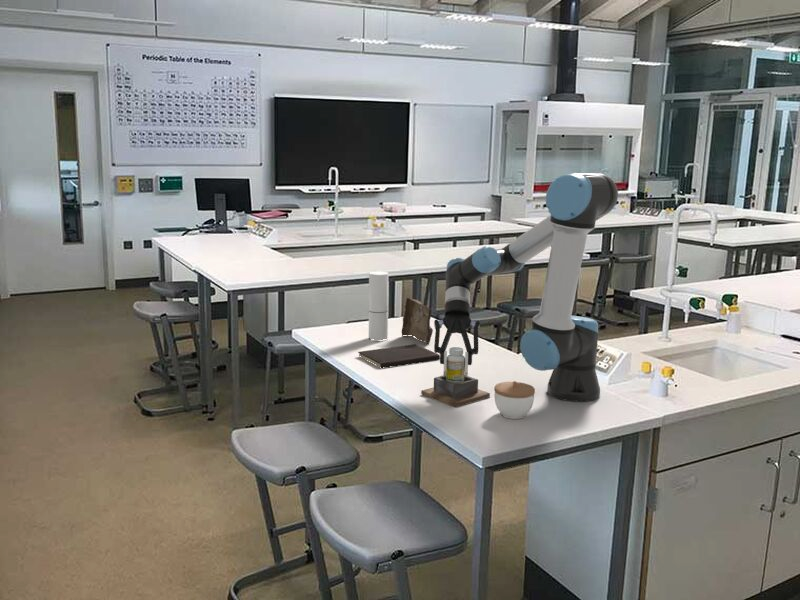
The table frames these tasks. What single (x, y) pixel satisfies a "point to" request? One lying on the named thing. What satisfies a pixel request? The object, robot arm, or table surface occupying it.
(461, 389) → the wooden square holder
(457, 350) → the supplement bottle
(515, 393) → the lidded jar
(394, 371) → the table surface
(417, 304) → the mineral sample
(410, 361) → the hardcover book
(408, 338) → the table surface
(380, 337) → the cylindrical container
